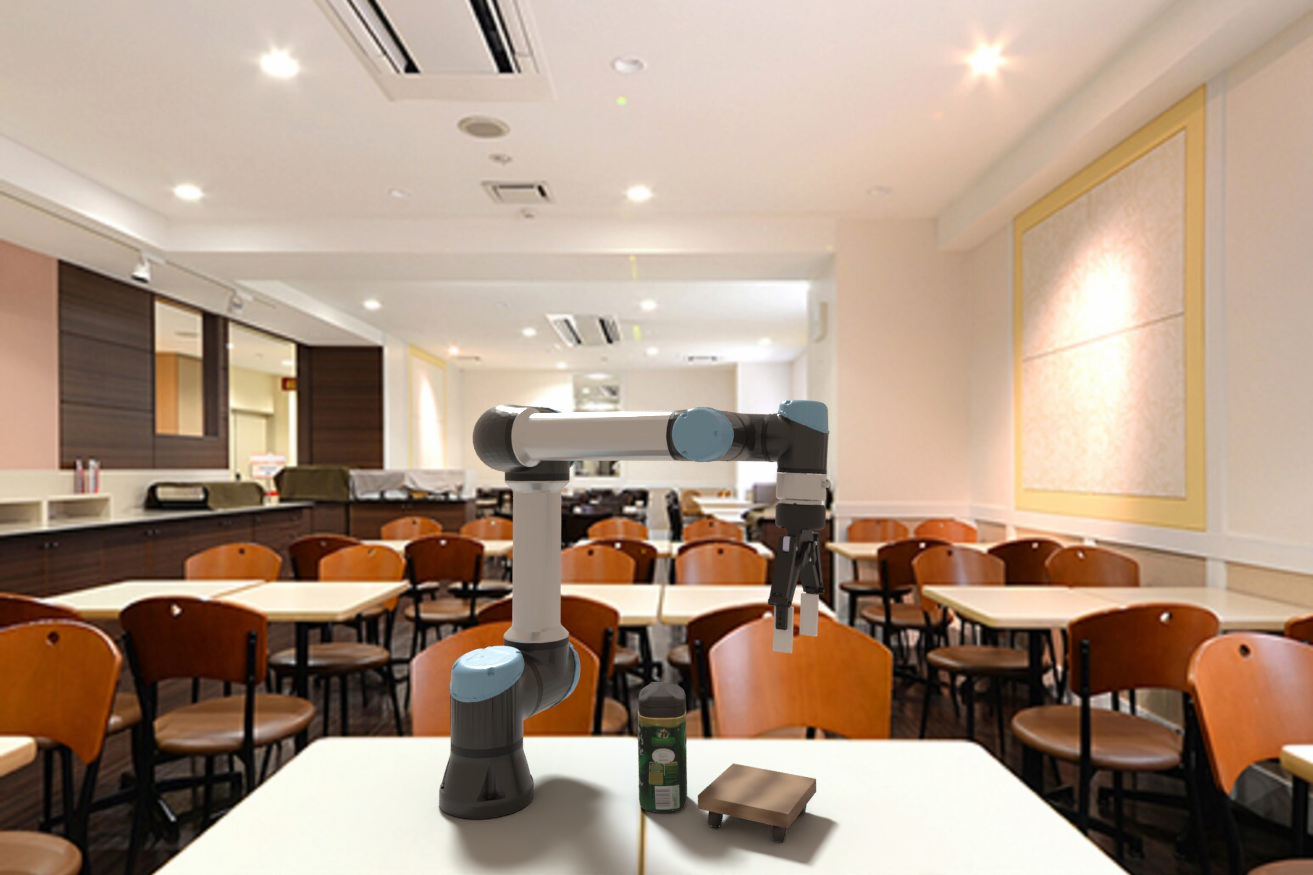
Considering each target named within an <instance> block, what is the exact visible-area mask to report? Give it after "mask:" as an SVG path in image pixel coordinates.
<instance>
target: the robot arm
mask: <svg viewBox="0 0 1313 875" xmlns="http://www.w3.org/2000/svg"><path fill="white" fill-rule="evenodd" d="M828 409H829V408H828V406H827V405H826V404H825V403H824V402H821V401H820V400H809V399H807V400H805V399H791V400H783V401H781V402H780V403H779V408H778V410H777V413H775V412H773V413H768V414H767V413H744V412H743V413H742V412H741V413H740V412H734V411H728V410H726V411H725V410H719V409H715V408H713V407H708V406H707V407H706V406H705V407H704V406H703V407H702V406H699V407H692V408H690V409H680V410H679V409H663V410H660V409H659V410H657V409H654V410H623V411H622V410H620V411H616V410H615V411H587V412H586V411H585V412H584V411H583V412H564V411H563V412H562V411H560V410H557V409H554V408H550V407H544V406H527V405H518V404H509V403H508V404H507V403H506V404H499V405H495V406H493V407H491V408H489V409H487V410H486V411H484V412H483V413H482V414H481V415H480V417H479V418H477V421H476V423H475V424H474V427H473V431H472V446H473V449H474V451H475V453H476V456H477V457H478V458H479V460H480V461H481V462H482V463H483V464H484V465H485V466H487V467H488V468H490V469H492V470H494V471H497V472H503V473H504V483H505V484H506V486H508V487H509V488H510V489H511V492H512V496H513V497H512V500H513V501H512V610H511V611H512V612H511V613H512V618H511V620H512V621H511V623H512V624H511V626H510V627H509V628H508V629H507V630H506V631H505V632H504V634H503V645H491V646H487V647H486V648H485V647H484V648H477V649H473V650H471V651H468V652H466V653H464V654H462V655H461V656H460V657H458V658H457V659H456V660H455V661H454V663H453V665H452V666H451V674H450V682H449V701H450V702H449V703H450V705H449V711H450V712H449V713H450V714H449V716H450V721H449V722H450V737H449V738H450V754H449V756H448V761H447V764H446V766H445V769H444V774H443V777H442V781H441V784H440V786H439V790H438V806H439V807H440V809H441V810H442V811H443V812H444V813H446V814H447V815H450V816H453V817H457V818H461V819H463V818H464V819H473V820H474V819H475V820H476V819H492V818H497V817H502V816H507V815H509V814H513V813H515V812H517V811H520V810H522V809H524V808H525V807H527V806H528V805H529V804H530V803H531V802H532V801H533V800H534V796H535V781H534V778H533V776H532V774H531V770H530V767H529V763H528V758H527V757H526V753H525V750H524V721H525V720H527V719H529V718H531V717H533V716H536V715H537V714H539V713H542V712H543V711H546V710H547V709H552V708H553V707H556V706H557V705H559V704H560V703H561V702H562V701H564V700H565V699H568V697H570V696H571V695H572V693H573V692H574V691H575V689H576V688H577V685H578V683H579V680H580V678H581V677H580V675H581V662H580V661H581V660H580V656H579V653H578V651H577V650H575V649H574V645H573V644H572V643H571V642H570V632H569V631H568V630H567V629H566V628H565V627H564V626H563V625H562V623H561V622H562V621H561V617H562V616H561V608H562V607H561V604H562V602H561V601H562V600H561V599H562V598H561V596H562V595H561V594H562V593H561V589H562V588H561V587H562V586H561V585H562V584H561V583H562V582H561V581H562V576H561V575H562V574H561V573H562V572H561V571H562V562H561V561H562V560H561V559H562V492H563V490H564V489H565V487H566V486H568V485H569V483H570V482H571V481H570V480H571V479H570V478H571V476H570V475H571V472H570V470H571V469H570V468H572V467H574V465H575V462H576V461H578V462H579V461H581V462H583V461H586V462H588V461H589V462H590V461H592V462H593V461H596V462H597V461H598V462H599V461H606V462H607V461H611V462H612V461H614V462H617V461H618V462H619V461H620V462H621V461H622V462H623V461H628V462H629V461H633V462H635V461H638V462H640V461H641V462H642V461H646V462H648V461H649V462H651V461H653V462H657V461H660V462H661V461H662V462H663V461H664V462H665V461H666V462H667V461H669V462H670V461H671V462H675V461H676V462H679V461H680V462H696V463H710V462H765V463H766V462H767V463H776V465H777V468H776V483H775V498H776V499H777V500H779V502H777V503H776V505H775V515H774V516H775V526H776V527H777V528H780V529H785V530H786V534H785V536H782V535H780V536H779V537H778V540H777V541H778V542H777V554H776V559H775V564H774V569H773V570H774V571H773V574H772V581H771V586H770V590H769V591H770V592H769V597H768V598H767V605H768V606H773V625H772V626H773V631H772V652H778V653H783V654H784V653H785V654H792V653H793V647H794V646H793V644H794V618H795V615H794V614H795V612H794V611H795V606H792V604H793V600H794V595H795V592H796V589H797V585H798V581H799V578H800V583H801V587H802V591H803V592H800V607H799V609H800V612H799V613H800V615H799V635H801V636H808V637H814V638H815V637H818V630H819V628H818V627H819V604H820V603H819V602H820V601H819V600H820V599H819V597H820V595H824V594H825V590H826V589H825V587H824V582H823V581H824V580H823V572H822V571H823V570H822V562H821V551H820V532H818V531H821V530H824V529H825V527H826V517H827V516H826V515H827V513H826V512H827V507H826V506H825V505H824V504H822V502H825V501H826V500H827V489H829V488H830V486H831V483H830V481H827V480H828V479H827V475H828V474H827V473H828V472H827V471H828V470H827V468H828V455H829V454H828V451H829V449H828V448H829V434H830V430H829V410H828ZM816 531H817V532H816Z"/></svg>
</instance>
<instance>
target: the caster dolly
mask: <svg viewBox="0 0 1313 875" xmlns="http://www.w3.org/2000/svg"><path fill="white" fill-rule="evenodd" d="M815 794H817V778H815V777H809V776H804V775H797V774H793V773H787V772H783V771H782V772H781V771H777V770H771V769H767V768H761V767H760V768H759V767H755V766H749V765H743V764H739V763H732V764H731V765H729V766H728V767H727V768H726V769H725V770H724V771H723V772H721V774H720V775H718V776H717V777H716V778H715V779H714V780H713V781H712V782H710V783H709V784H708V785H707V786H706V787H705V788H704V789H703V790H702V791H700V792H699V794H697V809H698V810H702V811H707V812H708V813H707V814H708V815H707V823H708V826H709V827H711V828H715V829H719V828H720V827H722V826H721V825H722V823H723V821H724V820H723V819H724V815H725V816H730V817H735V818H738V819H743V820H748V821H751V822H757V823H762V824H766V825H771V826H772V827H771V828H772V829H771V839H772V841H773V842H777V843H784V842H785V839H786V836H787V829H789V828H790V827H791V825H792V824H793V823H794V821H795V820H796V819H797V818H798V816H799V815H800V816H804V815H805V813H806V810H807V805H808V803H809V802H810V801H811V800H812V798H813V797H814V796H815ZM719 826H720V827H719Z"/></svg>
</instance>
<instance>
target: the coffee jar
mask: <svg viewBox="0 0 1313 875" xmlns="http://www.w3.org/2000/svg"><path fill="white" fill-rule="evenodd" d="M687 740H688V739H687V695H686V693H685V690H684V689H683V688H682V687H681V686H680V685H678V684H677V683H675V682H674V681H651V682H650V683H649V684H648V685H646V686H645V687H643V688H642V689H640V691H639V694H638V700H637V752H638V753H637V754H638V755H637V760H638V801H639V802H638V803H639V805H640V807H641V808H642V809H643V810H647V811H649V812H654V813H656V814H668V813H671V812H676V811H682V809H684V808H685V806H686V805H687V801H688V771H687V770H688V768H687V767H688V766H687V764H688V762H687V759H688V758H687V752H688V751H687Z"/></svg>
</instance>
